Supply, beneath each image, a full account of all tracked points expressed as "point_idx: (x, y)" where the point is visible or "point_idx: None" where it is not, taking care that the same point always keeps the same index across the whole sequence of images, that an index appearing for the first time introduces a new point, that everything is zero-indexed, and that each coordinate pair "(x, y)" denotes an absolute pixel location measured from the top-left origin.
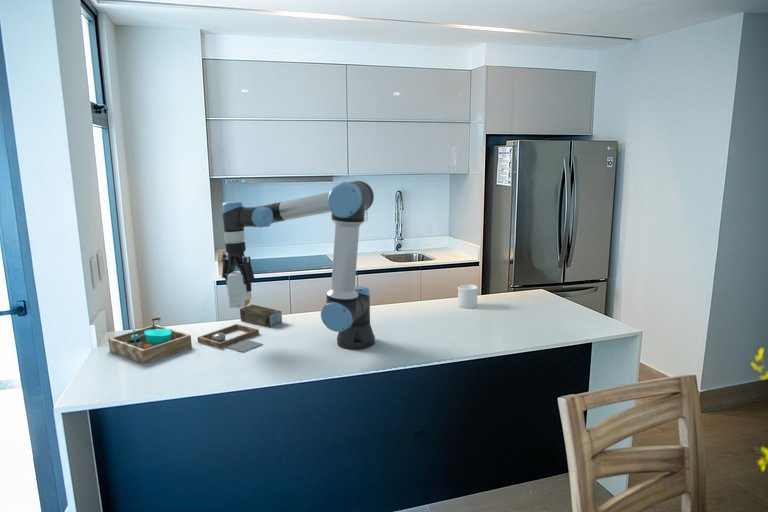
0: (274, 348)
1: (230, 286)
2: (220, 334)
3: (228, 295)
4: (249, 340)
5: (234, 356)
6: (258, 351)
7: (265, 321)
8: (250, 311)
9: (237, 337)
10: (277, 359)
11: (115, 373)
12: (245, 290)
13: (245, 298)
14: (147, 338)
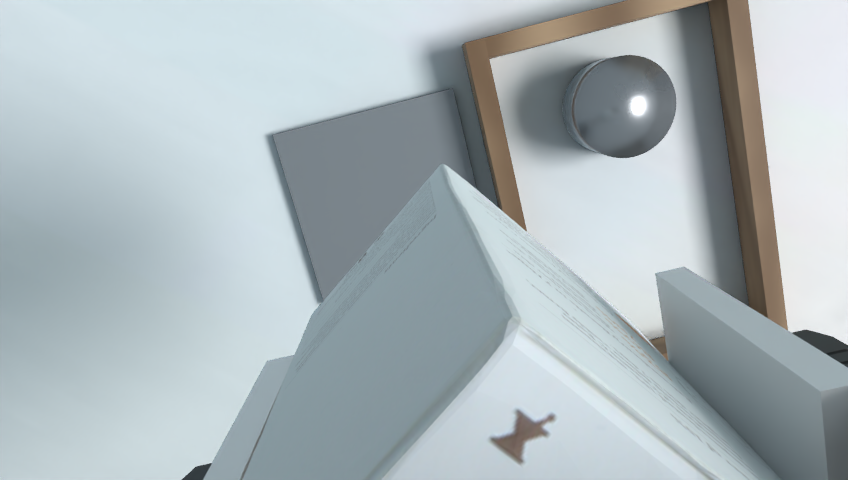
0: (211, 327)
1: (428, 267)
2: (620, 122)
3: (678, 275)
4: None
5: (246, 57)
6: (228, 225)
7: None
8: None
9: (503, 210)
10: (15, 249)
11: None
12: (226, 446)
13: (272, 370)
14: None
